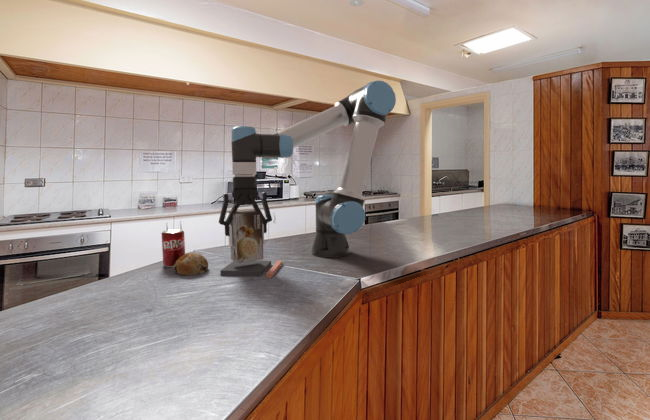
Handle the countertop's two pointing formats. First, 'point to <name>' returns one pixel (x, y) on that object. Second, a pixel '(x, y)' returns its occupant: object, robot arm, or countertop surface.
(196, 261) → the bread roll
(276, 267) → the pink bar
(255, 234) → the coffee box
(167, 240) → the soda can
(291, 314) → the countertop surface
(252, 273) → the mat
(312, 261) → the countertop surface
